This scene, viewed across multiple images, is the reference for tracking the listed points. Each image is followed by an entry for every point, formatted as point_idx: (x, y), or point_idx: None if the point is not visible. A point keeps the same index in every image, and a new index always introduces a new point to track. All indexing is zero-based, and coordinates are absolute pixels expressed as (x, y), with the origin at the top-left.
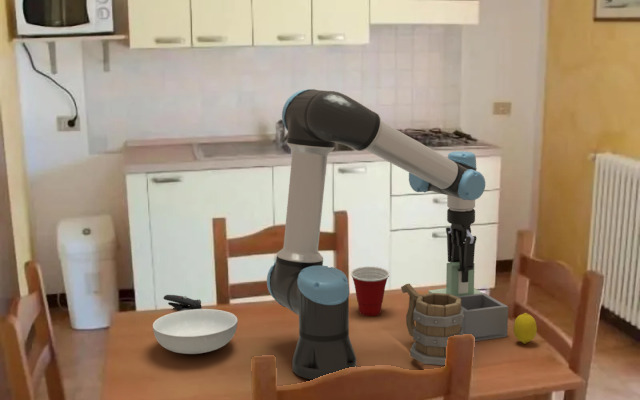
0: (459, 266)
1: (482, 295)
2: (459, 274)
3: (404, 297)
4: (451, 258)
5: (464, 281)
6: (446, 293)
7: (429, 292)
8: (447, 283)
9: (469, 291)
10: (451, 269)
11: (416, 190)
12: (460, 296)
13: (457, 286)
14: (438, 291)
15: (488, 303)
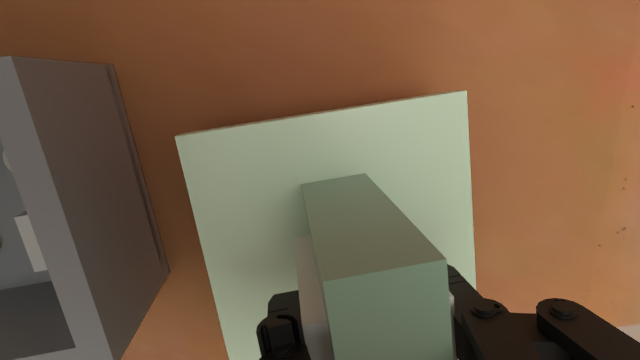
0: (333, 355)
1: (78, 344)
2: (302, 305)
3: (597, 9)
4: (523, 346)
5: (270, 307)
6: (362, 174)
7: (450, 92)
8: (367, 196)
9: None
10: (321, 261)
11: None
12: (43, 196)
13: (312, 247)
14: (426, 143)
15: (16, 340)
